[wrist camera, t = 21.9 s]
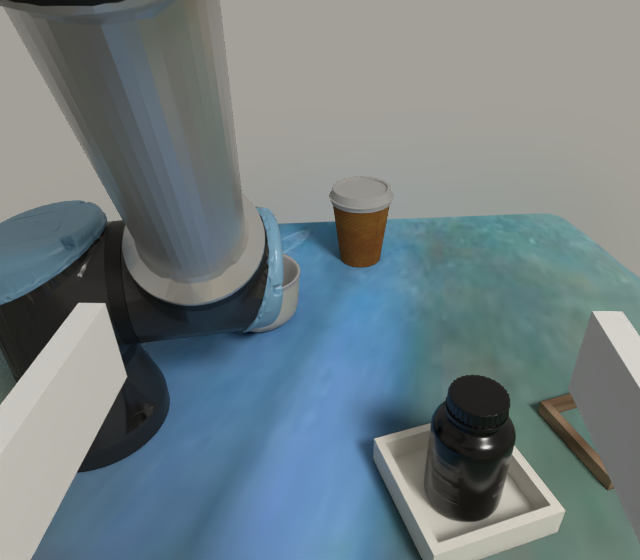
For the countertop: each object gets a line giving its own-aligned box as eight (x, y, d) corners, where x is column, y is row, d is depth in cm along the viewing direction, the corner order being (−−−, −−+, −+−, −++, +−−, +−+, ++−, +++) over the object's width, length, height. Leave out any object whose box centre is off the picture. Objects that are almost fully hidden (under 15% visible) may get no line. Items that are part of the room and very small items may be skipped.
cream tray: (373, 459, 52) (374, 438, 51) (480, 428, 55) (484, 408, 53) (430, 576, 43) (434, 555, 41) (557, 531, 45) (565, 510, 44)
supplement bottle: (513, 519, 46) (540, 423, 39) (436, 530, 45) (451, 434, 39) (482, 455, 52) (502, 361, 45) (413, 464, 51) (424, 370, 44)
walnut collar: (537, 411, 57) (540, 401, 56) (615, 389, 59) (619, 379, 58) (607, 490, 49) (612, 479, 48) (694, 461, 51) (699, 450, 50)
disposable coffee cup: (326, 245, 89) (325, 177, 82) (382, 240, 90) (385, 173, 83) (335, 275, 81) (334, 203, 74) (396, 270, 82) (401, 197, 75)
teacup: (235, 293, 77) (228, 245, 73) (308, 298, 76) (306, 249, 72) (203, 356, 66) (193, 303, 62) (288, 363, 64) (284, 309, 60)
